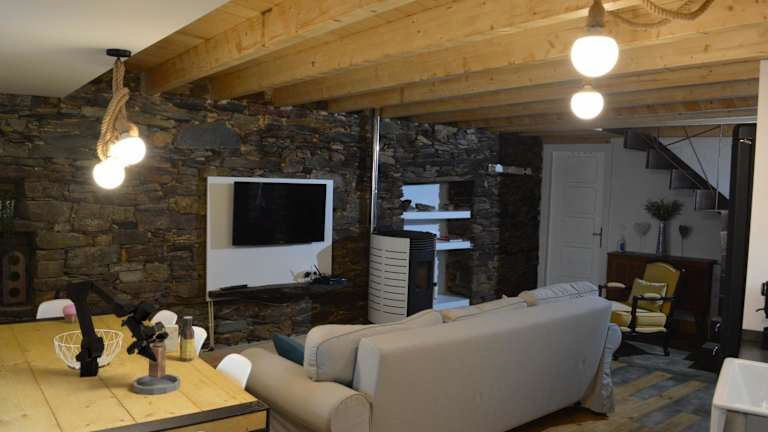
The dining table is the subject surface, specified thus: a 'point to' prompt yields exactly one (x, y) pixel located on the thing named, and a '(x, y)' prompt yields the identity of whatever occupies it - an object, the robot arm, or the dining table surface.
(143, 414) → the dining table surface
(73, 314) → the cupcake
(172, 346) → the skincare box
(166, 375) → the slate dish
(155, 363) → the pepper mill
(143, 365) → the dining table surface
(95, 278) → the robot arm
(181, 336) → the sauce bottle
